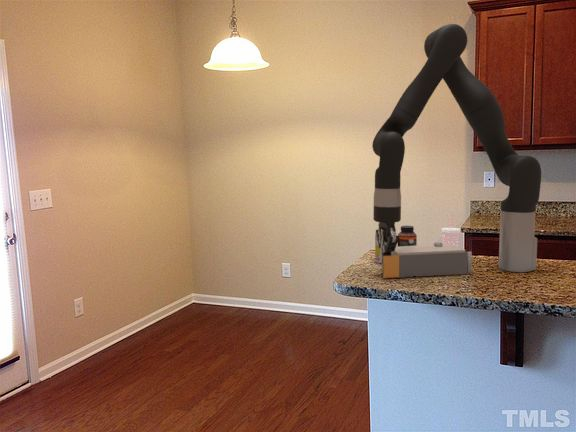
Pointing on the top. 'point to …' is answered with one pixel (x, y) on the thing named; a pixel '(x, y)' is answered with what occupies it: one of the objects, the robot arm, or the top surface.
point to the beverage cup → (450, 234)
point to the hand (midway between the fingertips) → (386, 265)
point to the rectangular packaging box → (427, 250)
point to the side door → (426, 264)
